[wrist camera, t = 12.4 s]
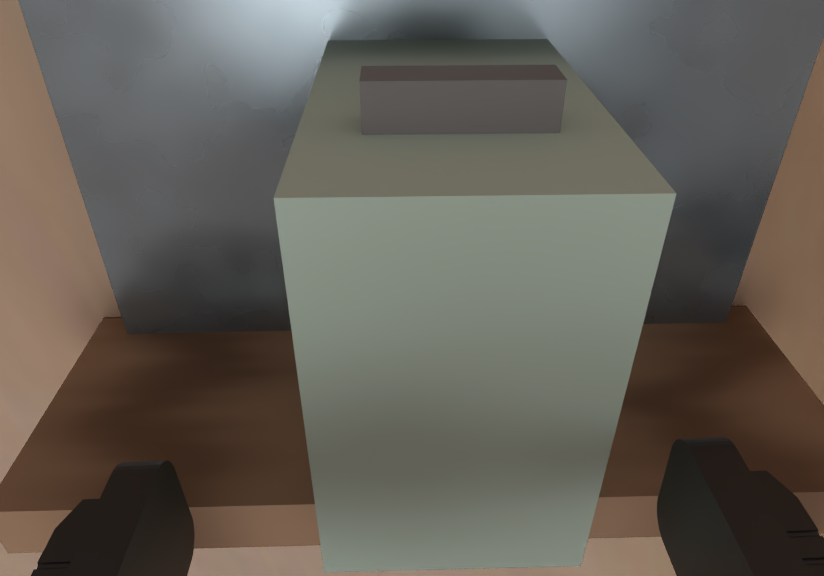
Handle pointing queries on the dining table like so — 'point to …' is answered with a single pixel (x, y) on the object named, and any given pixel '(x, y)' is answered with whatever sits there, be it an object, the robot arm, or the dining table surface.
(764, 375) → the wall board
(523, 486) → the cabinet
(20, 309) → the dining table surface
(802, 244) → the dining table surface
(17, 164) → the dining table surface
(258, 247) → the dark grey flat slab
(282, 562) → the dining table surface
